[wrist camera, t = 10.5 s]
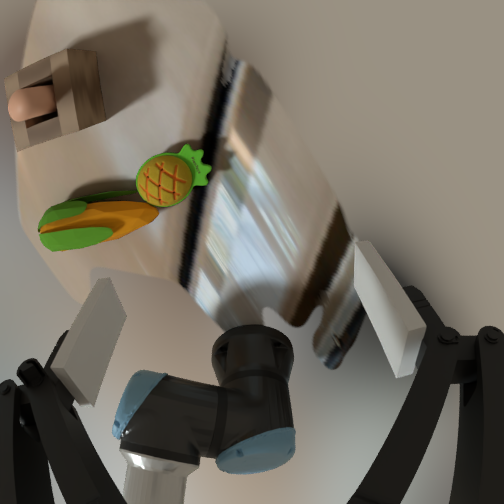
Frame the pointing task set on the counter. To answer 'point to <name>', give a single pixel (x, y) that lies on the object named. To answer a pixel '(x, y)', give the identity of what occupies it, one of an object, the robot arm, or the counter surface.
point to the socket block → (59, 96)
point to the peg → (32, 102)
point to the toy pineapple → (171, 176)
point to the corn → (92, 221)
